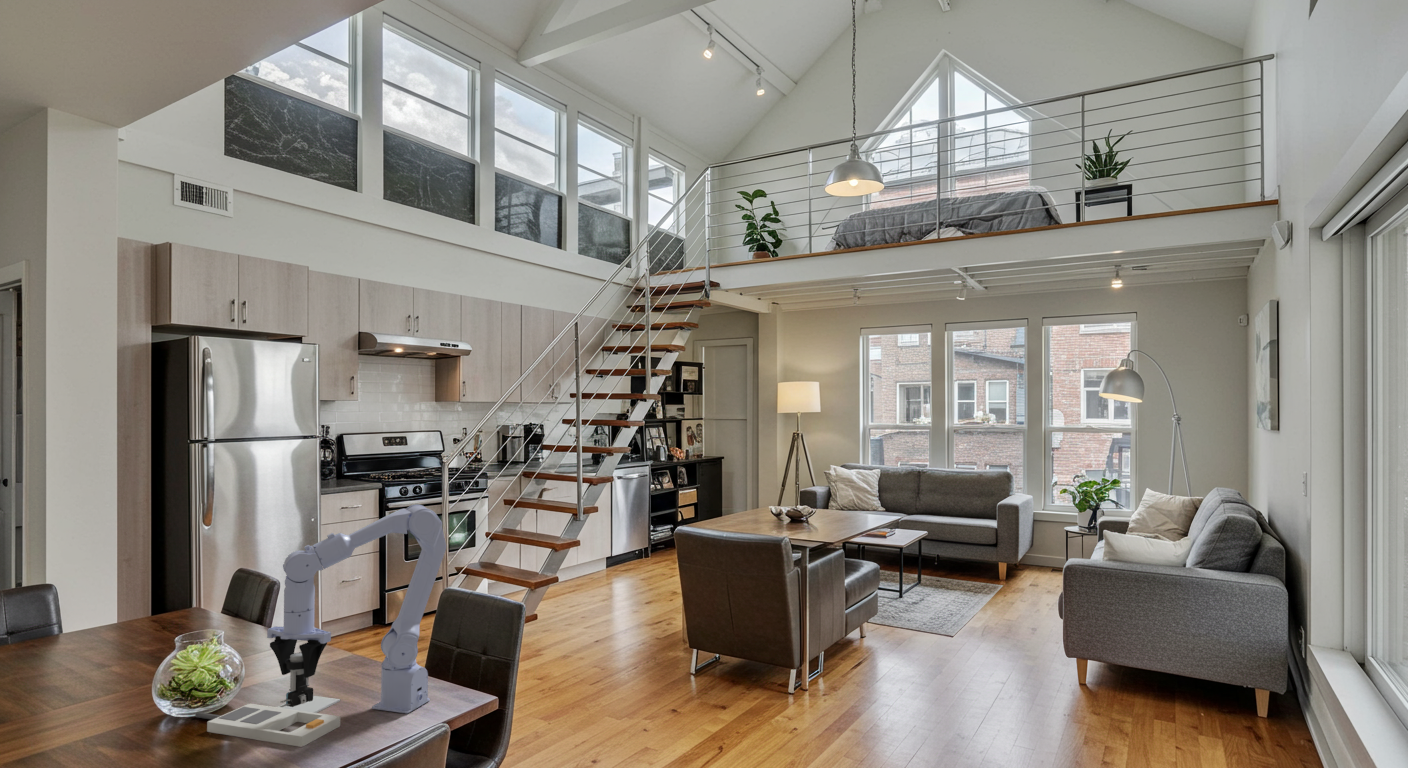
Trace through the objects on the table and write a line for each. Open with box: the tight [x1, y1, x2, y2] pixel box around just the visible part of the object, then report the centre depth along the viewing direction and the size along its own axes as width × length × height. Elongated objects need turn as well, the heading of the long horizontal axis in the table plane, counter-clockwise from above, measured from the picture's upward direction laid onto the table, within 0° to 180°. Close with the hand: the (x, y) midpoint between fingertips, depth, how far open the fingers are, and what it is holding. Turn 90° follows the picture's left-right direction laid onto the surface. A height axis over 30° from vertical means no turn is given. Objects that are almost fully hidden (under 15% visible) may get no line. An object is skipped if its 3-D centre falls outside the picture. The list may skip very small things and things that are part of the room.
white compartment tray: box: [194, 703, 341, 748], centre depth 156 cm, size 33×10×3 cm, turn 74°
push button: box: [279, 651, 314, 707], centre depth 156 cm, size 7×5×10 cm
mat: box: [277, 695, 341, 713], centre depth 166 cm, size 10×10×1 cm
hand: (298, 674), depth 157 cm, fingers closed on push button, 5 cm apart
